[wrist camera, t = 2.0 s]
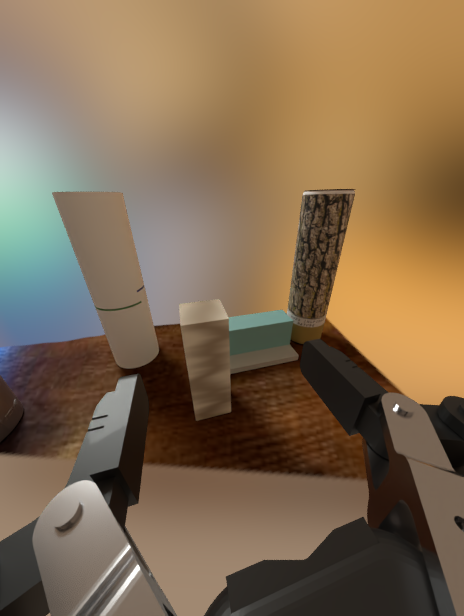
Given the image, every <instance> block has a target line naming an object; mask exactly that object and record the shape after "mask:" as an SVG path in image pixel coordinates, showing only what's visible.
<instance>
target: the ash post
mask: <svg viewBox="0 0 464 616" xmlns="http://www.w3.org/2000/svg"><path fill="white" fill-rule="evenodd" d="M179 308H180V324H181V331H182V337H183V344H184V350H185V356H186V362H187V369H188V375H189V381H190V387H191V393H192V400H193V406H194V412H195V418H196V421H198V420H202V419H206V418H210V417H214V416H218V415H222V414H226V413H230V412H231V385H230V347H229V318H228V316H227V314H226V312H225V310H224V308H223V306H222V304H221V301H220V300H219V299H216V300H209V301H200V302H192V303H184V304H179Z"/></svg>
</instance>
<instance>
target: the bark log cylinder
mask: <svg viewBox="0 0 464 616" xmlns="http://www.w3.org/2000/svg"><path fill="white" fill-rule="evenodd" d="M354 196H355V191H354V189H333V190H310V191H306V192H304V193H303V197H302V205H301V212H300V219H299V227H298V235H297V242H296V250H295V257H294V265H293V273H292V281H291V288H290V296H289V303H288V311H287V315H288V316H289V317H290V318H291V319H292V320H293V326H292V333H291V340H292V341H294V342H297V343H300V344H304V342H306V341H310V340H315V339H320V338H321V334H322V330H323V326H324V322H325V318H326V314H327V309H328V305H329V301H330V297H331V292H332V288H333V284H334V280H335V276H336V271H337V267H338V263H339V259H340V255H341V250H342V246H343V242H344V238H345V234H346V229H347V225H348V221H349V217H350V213H351V208H352V204H353V200H354Z"/></svg>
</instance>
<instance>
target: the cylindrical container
mask: <svg viewBox="0 0 464 616" xmlns="http://www.w3.org/2000/svg"><path fill="white" fill-rule="evenodd" d="M52 194H53V196H54V199H55V202H56V205H57V207H58V210H59V213H60V215H61V218H62V221H63V223H64V226H65V228H66V231H67V234H68V236H69V239H70V242H71V244H72V247H73V250H74V252H75V255H76V258H77V260H78V263H79V265H80V268H81V271H82V273H83V276H84V278H85V281H86V284H87V287H88V289H89V292H90V294H91V297H92V300H93V302H94V305H95V307H96V310H97V313H98V316H99V318H100V321H101V324H102V326H103V329H104V331H105V334H106V337H107V339H108V342H109V345H110V347H111V350H112V353H113V355H114V358H115V361H116V363H117V365H118V366H120V367H122V368H128V369H131V368H137V367H141V366H143V365H146V364H147V363H149V362H151V361H152V360H153V359H154V358H155V357H156V356H157V355H158V353H159V346H158V342H157V338H156V334H155V329H154V325H153V322H152V317H151V313H150V308H149V304H148V300H147V295H146V291H145V287H144V283H143V278H142V274H141V270H140V266H139V262H138V257H137V253H136V249H135V245H134V241H133V237H132V232H131V228H130V223H129V219H128V215H127V210H126V206H125V202H124V198H123V193H119V192H53V193H52Z"/></svg>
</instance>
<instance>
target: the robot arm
mask: <svg viewBox="0 0 464 616" xmlns="http://www.w3.org/2000/svg"><path fill="white" fill-rule="evenodd" d="M300 368H301V372H302V374H303V376H304V377H305V378H306V380H307V381H308V382H309V383H310V385H311V386H312V387H313V389H314V390H315V391H316V393H317V394H318V395H319V397H320V398H321V399H322V400H323V402H324V403H325V404H326V406H327V407H328V408H329V410H330V411H331V412H332V414H333V415H334V416H335V417H336V419H337V420H338V421H339V423H340V424H341V425H342V427H343V428H344V429H345V431H346V432H347V433H348V434H349V436H351V435H354V434H357V433H360V434H361V435H362V436H363V439H362V447H363V454H364V460H365V467H366V474H367V481H368V488H369V501H368V509H367V518H368V524H367V523H366V521H365V519H364V517H362V518H359V519H357V520H355V521H353V522H350V523H348V524H346V525H343V526H341V527H339V528H336V529H334V530H333V531H332V532H331V533H330V534H329V535H328V537H326V539H325V540H324V541H323V542H322V543H321V544H320V545H319V546H318V547H317V549H316V550H315V551H314V552H313V553H312V554H311V555H310V556H309V557H308V558H307V559H305V560H263V561H261V562H258V563H256V564H254V565H251V566H249V567H247V568H245V569H242V570H240V571H238V572H235V573H233V574H231V575H229V576H226V580H227V587H226V588H225V589H224V590H223V591H222V592H221V593H220V594H219V595H218V596H217V598H216V599H215V600H214V602H213V603H212V604H211V605H210V607H209V608H208V610H207V612H206V613H205V615H204V616H464V398H460V397H456V396H448V397H445V398H444V399H443V401H442V402H441V404H440V405H423V404H418V403H417V402H415V401H414V400H412V399H410V398H408V397H406V396H404V395H401V394H398V393H388V392H387V391H386V390H385V389H384V388H382V387H381V386H380V385H379V384H378V383H377V382H376V381H374V380H373V379H372V378H371V377H370V376H369V375H368V374H366V373H365V372H364V371H363V370H362V369H361V368H359V367H357V365H356V364H355V363H354V362H353V361H351V360H350V359H349V358H348V357H347V356H346V355H345V354H343V353H342V352H341V351H339V350H337V349H335V348H333V347H329V346H328V345H327V344H326V343H325V342H324V341H322V340H321V339H315V340H310V341H306V342H304V344H303V350H302V356H301V361H300ZM23 411H24V410H23V405H22V404H21V402H20V401H19V400H18V398H17V397H16V396H15V394H14V393H13V392H12V390H11V389H10V388H9V386H8V385H7V383H6V382H5V381H4V380H3V378H2V377H1V376H0V442H1V441H2V440H3V439H4V438H5V437H6V436H7V435H8V434H9V433H10V432H11V431H12V430H13V429H14V428H15V426H16V425H17V424H18V422H19V421H20V419H21V417H22V414H23ZM148 415H149V401H148V396H147V393H146V390H145V387H144V384H143V381H142V378H141V375H140V374H135V375H129V376H124V377H120V378H119V381H118V384H117V387H116V390H115V391H114V392H109V393H106V395H105V396H104V397H103V398H102V400H101V401H100V402H99V403H98V405H97V407H96V409H95V412H94V415H93V417H92V421H91V422H90V425H89V428H88V432H87V433H86V436H85V438H84V441H83V444H82V446H81V449H80V452H79V454H78V457H77V460H76V462H75V465H74V467H73V471H72V473H71V475H70V478H69V481H68V483H67V485H66V487H65V488H64V490H62V491H61V492H60V493H59V494H58V495H56V496H55V497H54V498H53V499H52V501H51V502H50V503H49V504H48V505H47V507H46V508H45V509H44V511H43V512H42V514H41V515H40V516H39V517H38V518H37V519H36V520H34V521H33V522H32V523H30V524H28V525H27V526H25V527H23V528H22V529H20V530H18V531H17V532H15V533H14V534H12V535H11V536H9V537H7V538H5V539H4V540H2V541H1V542H0V616H46V615H47V614H48V613H50V614H51V616H177V615H176V613H175V611H174V610H173V608H172V606H171V604H170V603H169V601H168V599H167V598H166V596H165V595H164V593H163V591H162V589H161V588H160V586H159V585H158V583H157V582H156V580H155V578H154V577H153V574H152V573H151V571H150V569H149V567H148V565H147V564H146V562H145V560H144V559H143V557H142V555H141V553H140V551H139V550H138V548H137V546H136V544H135V543H134V541H133V539H132V537H131V535H130V534H129V532H128V530H127V528H126V527H125V521H126V514H127V508H128V506H132V505H135V504H138V501H139V492H140V484H141V475H142V467H143V458H144V449H145V441H146V432H147V423H148Z"/></svg>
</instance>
